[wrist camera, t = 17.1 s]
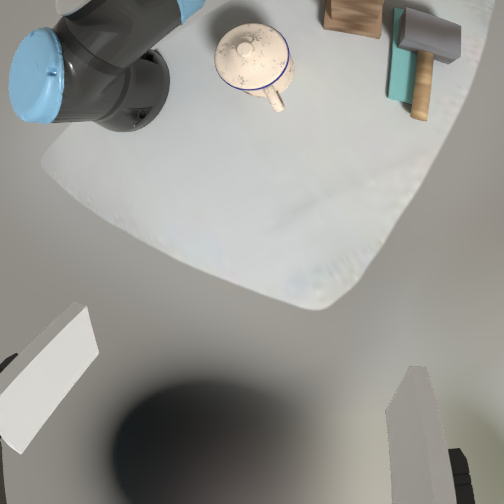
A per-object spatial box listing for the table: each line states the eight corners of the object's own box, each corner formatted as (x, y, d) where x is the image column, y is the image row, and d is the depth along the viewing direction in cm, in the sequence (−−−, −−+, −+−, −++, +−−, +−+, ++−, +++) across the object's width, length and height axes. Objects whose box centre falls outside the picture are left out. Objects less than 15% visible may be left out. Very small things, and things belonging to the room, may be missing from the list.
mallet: (441, 127, 36) (454, 125, 32) (389, 111, 38) (397, 107, 33) (449, 35, 31) (461, 26, 26) (399, 19, 32) (406, 6, 28)
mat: (387, 98, 38) (388, 97, 37) (393, 9, 32) (394, 7, 32) (426, 108, 37) (428, 108, 36) (431, 20, 31) (433, 18, 31)
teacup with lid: (224, 58, 41) (193, 37, 30) (280, 33, 38) (264, 2, 27) (256, 127, 44) (234, 122, 33) (315, 103, 40) (311, 89, 30)
